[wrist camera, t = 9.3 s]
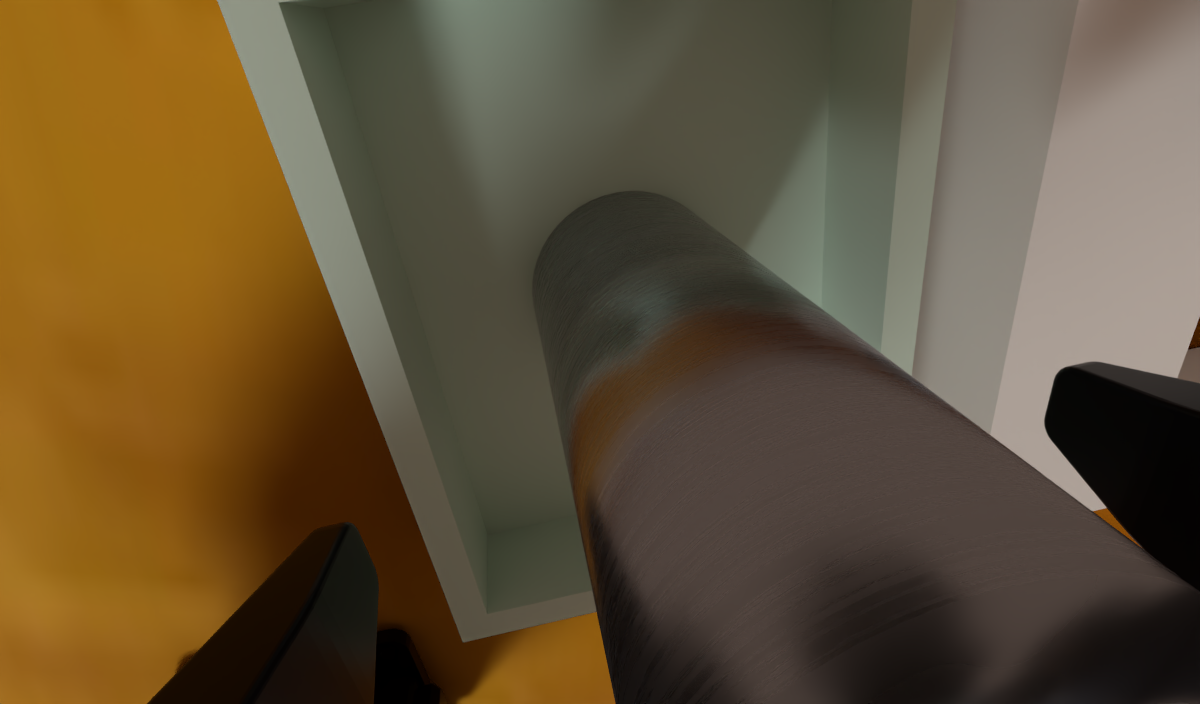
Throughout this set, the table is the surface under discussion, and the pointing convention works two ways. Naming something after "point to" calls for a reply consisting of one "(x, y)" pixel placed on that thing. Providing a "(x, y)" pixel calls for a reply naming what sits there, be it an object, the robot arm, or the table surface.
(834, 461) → the pin
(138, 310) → the table surface
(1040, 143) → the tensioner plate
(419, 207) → the tray
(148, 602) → the table surface
